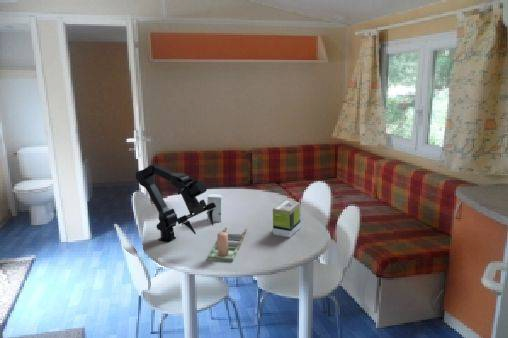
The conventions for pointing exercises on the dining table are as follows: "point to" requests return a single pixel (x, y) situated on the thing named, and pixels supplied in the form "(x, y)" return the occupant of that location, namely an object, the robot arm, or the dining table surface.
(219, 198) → the skincare box
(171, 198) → the dining table surface
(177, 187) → the robot arm
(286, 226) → the tea box
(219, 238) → the peach capsule
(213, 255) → the frame
